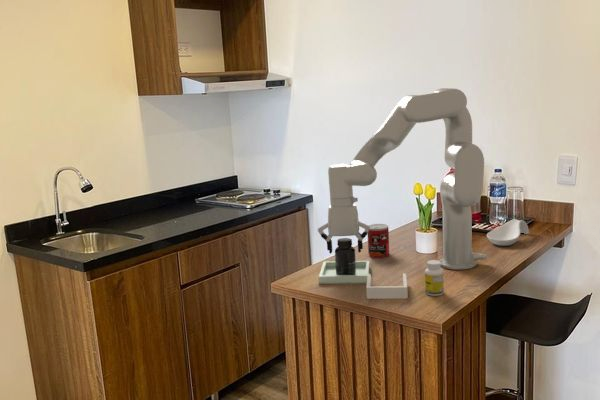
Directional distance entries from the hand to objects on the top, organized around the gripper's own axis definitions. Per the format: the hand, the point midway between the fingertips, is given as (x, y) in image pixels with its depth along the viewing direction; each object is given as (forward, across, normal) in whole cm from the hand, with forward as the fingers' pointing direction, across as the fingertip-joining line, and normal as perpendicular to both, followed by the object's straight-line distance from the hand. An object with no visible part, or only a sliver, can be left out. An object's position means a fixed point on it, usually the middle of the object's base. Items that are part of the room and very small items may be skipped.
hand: (345, 251), depth 193 cm
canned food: (+9, -10, -23) cm, 27 cm away
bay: (+8, -13, +15) cm, 22 cm away
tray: (+8, +1, 0) cm, 8 cm away
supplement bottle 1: (+8, 0, 0) cm, 8 cm away
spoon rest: (+10, -60, -39) cm, 73 cm away
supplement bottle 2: (+9, -28, +17) cm, 34 cm away
